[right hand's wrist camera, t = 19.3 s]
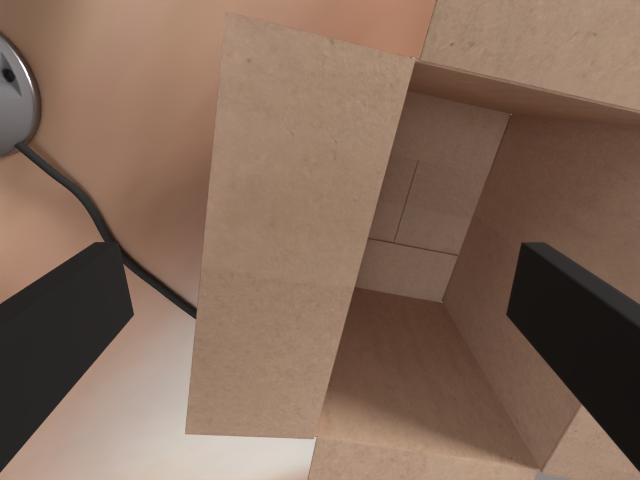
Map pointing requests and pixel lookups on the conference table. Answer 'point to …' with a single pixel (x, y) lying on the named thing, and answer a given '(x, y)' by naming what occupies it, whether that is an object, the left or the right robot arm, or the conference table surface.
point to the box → (414, 237)
